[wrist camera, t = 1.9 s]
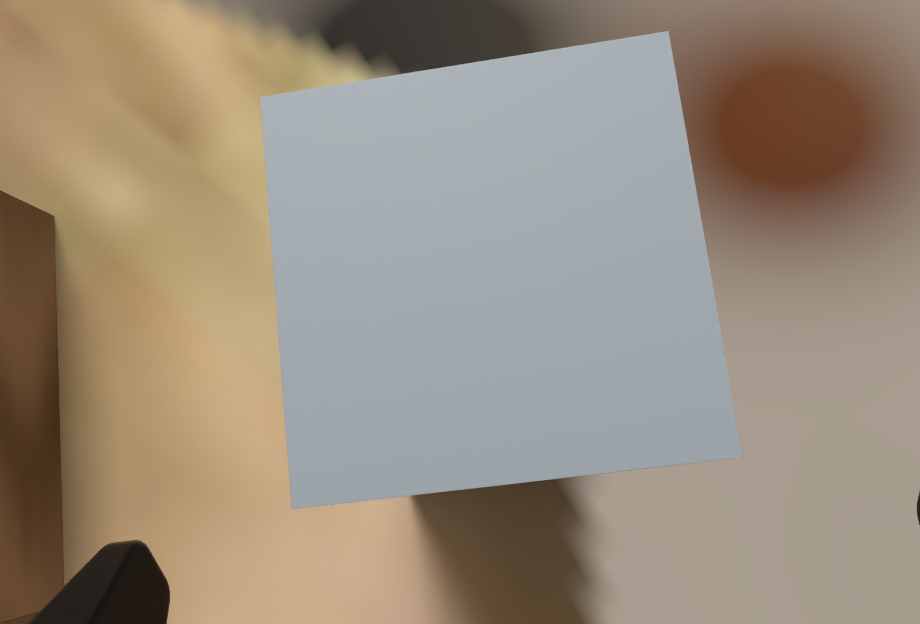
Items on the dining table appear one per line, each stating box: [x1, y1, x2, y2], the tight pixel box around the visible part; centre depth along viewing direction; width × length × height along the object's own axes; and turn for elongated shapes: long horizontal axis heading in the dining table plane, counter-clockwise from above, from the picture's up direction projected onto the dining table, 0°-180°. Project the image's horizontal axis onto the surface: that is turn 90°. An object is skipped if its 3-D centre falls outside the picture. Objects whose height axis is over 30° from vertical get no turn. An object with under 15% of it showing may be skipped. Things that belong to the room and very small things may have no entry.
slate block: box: [260, 31, 743, 509], centre depth 16 cm, size 6×6×9 cm
